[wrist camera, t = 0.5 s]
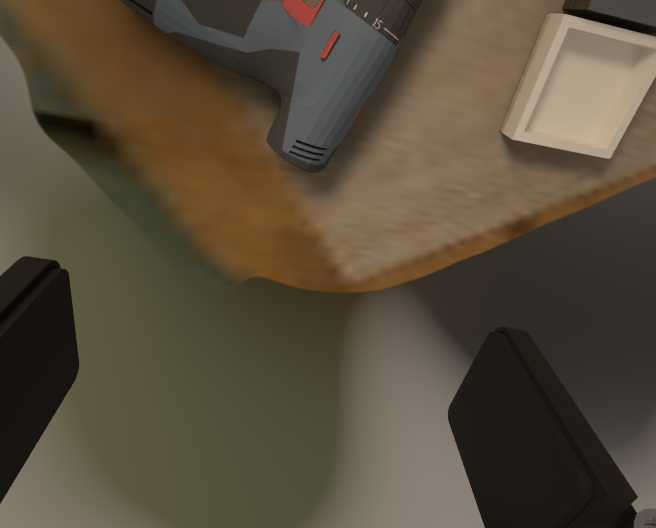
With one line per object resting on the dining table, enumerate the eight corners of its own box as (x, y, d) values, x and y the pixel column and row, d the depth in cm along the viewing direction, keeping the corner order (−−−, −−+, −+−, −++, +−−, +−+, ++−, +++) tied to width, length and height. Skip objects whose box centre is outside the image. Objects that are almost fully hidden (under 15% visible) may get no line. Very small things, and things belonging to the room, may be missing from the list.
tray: (547, 13, 32) (564, 13, 30) (650, 38, 34) (674, 41, 31) (499, 131, 37) (512, 139, 35) (592, 150, 38) (609, 159, 36)
